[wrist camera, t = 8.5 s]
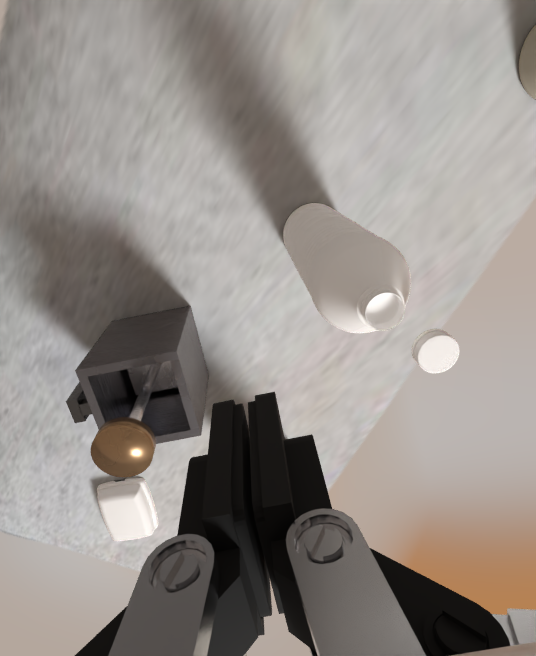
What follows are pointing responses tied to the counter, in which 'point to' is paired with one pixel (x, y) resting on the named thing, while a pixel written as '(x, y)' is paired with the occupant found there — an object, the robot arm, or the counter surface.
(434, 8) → the counter surface
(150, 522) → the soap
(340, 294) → the water bottle
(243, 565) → the robot arm
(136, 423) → the plunger
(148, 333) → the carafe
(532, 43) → the travel mug
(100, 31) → the counter surface
